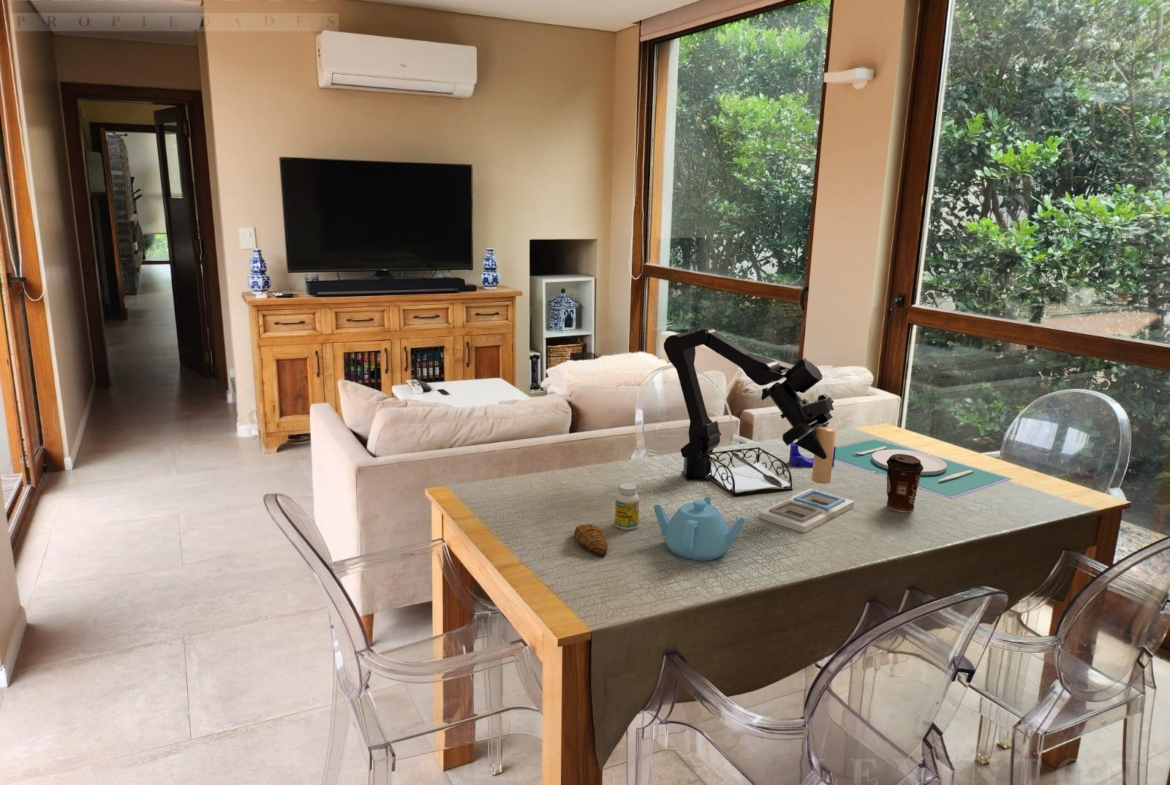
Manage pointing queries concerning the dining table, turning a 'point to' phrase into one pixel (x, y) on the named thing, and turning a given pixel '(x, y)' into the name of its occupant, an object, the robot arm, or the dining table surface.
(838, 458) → the place mat
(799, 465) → the blue cradle holder
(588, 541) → the croissant
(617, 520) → the supplement bottle
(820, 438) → the orange plug
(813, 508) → the socket tray
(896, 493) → the coffee cup
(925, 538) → the dining table surface
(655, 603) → the dining table surface
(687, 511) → the teapot
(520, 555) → the dining table surface
